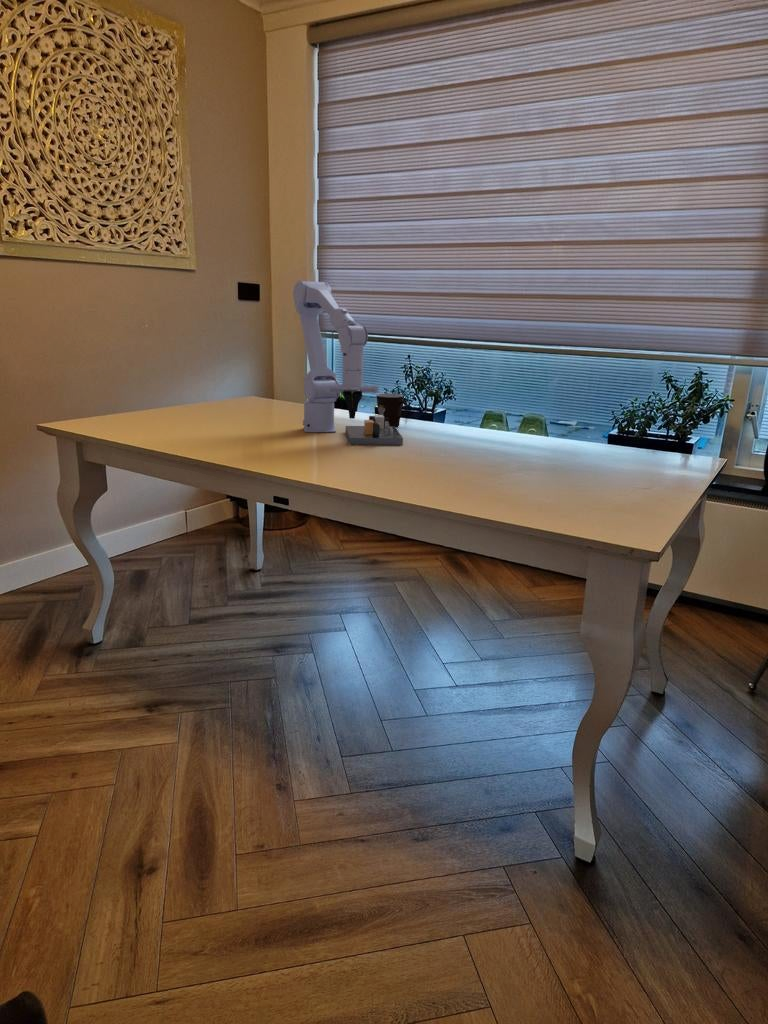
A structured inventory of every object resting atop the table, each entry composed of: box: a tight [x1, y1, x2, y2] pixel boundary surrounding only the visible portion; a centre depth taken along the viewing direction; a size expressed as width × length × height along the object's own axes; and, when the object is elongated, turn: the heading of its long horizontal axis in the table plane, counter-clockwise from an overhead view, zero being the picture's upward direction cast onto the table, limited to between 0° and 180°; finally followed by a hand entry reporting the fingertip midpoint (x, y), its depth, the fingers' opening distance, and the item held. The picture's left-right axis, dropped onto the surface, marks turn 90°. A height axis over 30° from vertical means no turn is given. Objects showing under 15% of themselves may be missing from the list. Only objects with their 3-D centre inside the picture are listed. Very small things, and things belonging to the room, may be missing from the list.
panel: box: [345, 415, 404, 446], centre depth 194 cm, size 15×18×6 cm
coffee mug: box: [376, 392, 409, 428], centre depth 211 cm, size 12×9×10 cm
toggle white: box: [374, 414, 384, 429], centre depth 200 cm, size 2×4×4 cm, turn 7°
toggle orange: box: [363, 419, 374, 435], centre depth 191 cm, size 2×4×4 cm, turn 7°
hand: (351, 418), depth 189 cm, fingers closed
